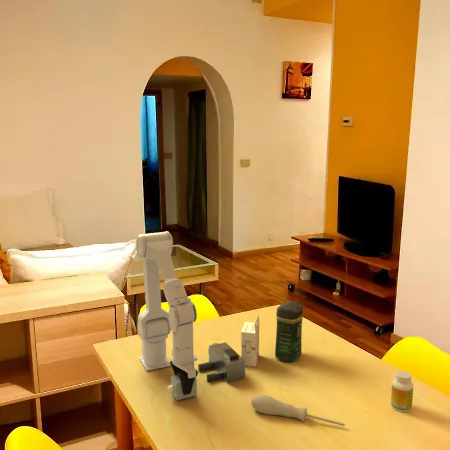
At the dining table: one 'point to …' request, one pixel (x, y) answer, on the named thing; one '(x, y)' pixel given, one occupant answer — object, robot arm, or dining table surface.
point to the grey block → (180, 388)
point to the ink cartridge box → (250, 342)
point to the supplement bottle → (402, 392)
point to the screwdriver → (282, 409)
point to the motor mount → (224, 364)
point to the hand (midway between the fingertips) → (183, 389)
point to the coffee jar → (289, 331)
